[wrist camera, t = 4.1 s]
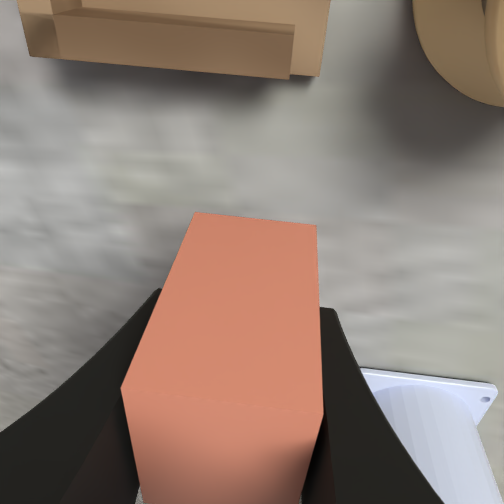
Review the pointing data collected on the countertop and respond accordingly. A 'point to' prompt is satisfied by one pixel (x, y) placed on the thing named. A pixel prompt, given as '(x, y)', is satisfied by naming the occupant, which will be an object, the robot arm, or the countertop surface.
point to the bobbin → (465, 44)
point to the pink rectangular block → (230, 367)
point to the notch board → (182, 34)
